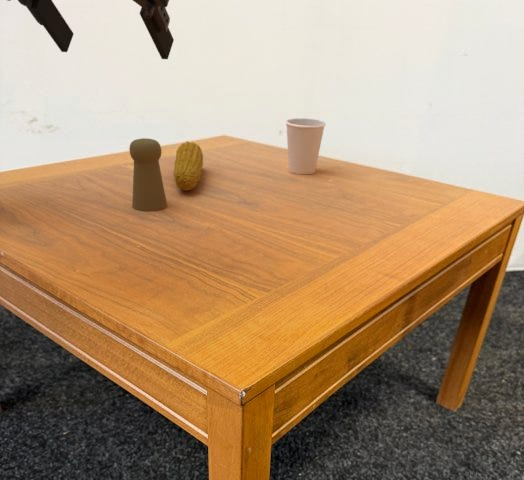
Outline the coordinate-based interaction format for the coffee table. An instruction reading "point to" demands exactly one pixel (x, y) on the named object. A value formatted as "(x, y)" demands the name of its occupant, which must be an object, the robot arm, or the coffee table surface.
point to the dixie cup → (304, 144)
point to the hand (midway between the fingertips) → (116, 46)
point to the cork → (147, 175)
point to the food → (188, 165)
